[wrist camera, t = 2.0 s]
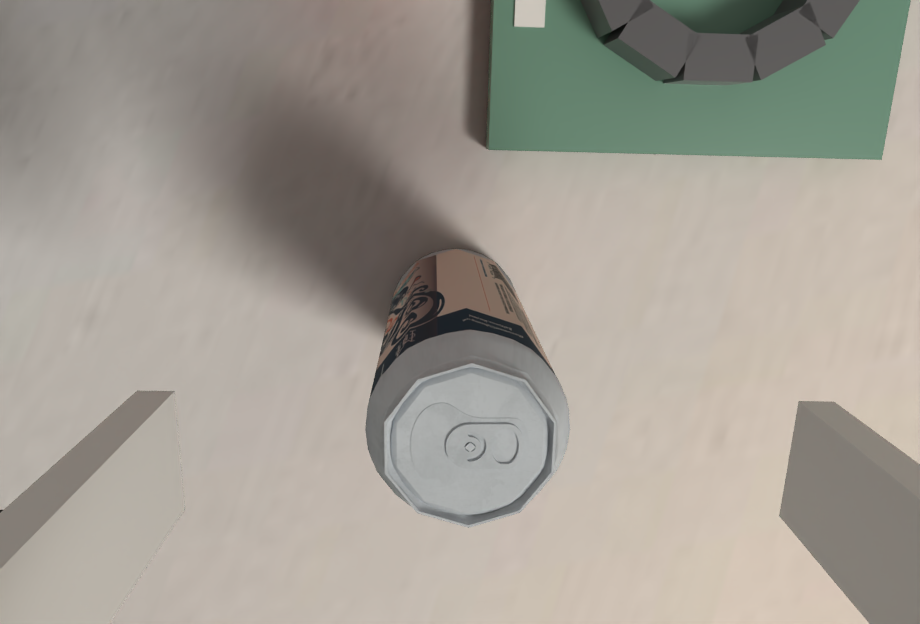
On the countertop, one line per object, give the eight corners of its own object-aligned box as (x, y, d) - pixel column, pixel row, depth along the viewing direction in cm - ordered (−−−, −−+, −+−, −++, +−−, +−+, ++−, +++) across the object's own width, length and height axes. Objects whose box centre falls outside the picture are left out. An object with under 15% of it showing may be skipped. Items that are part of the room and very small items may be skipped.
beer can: (392, 245, 26) (358, 343, 15) (518, 246, 26) (584, 344, 15) (393, 365, 27) (363, 544, 16) (514, 366, 28) (571, 542, 16)
